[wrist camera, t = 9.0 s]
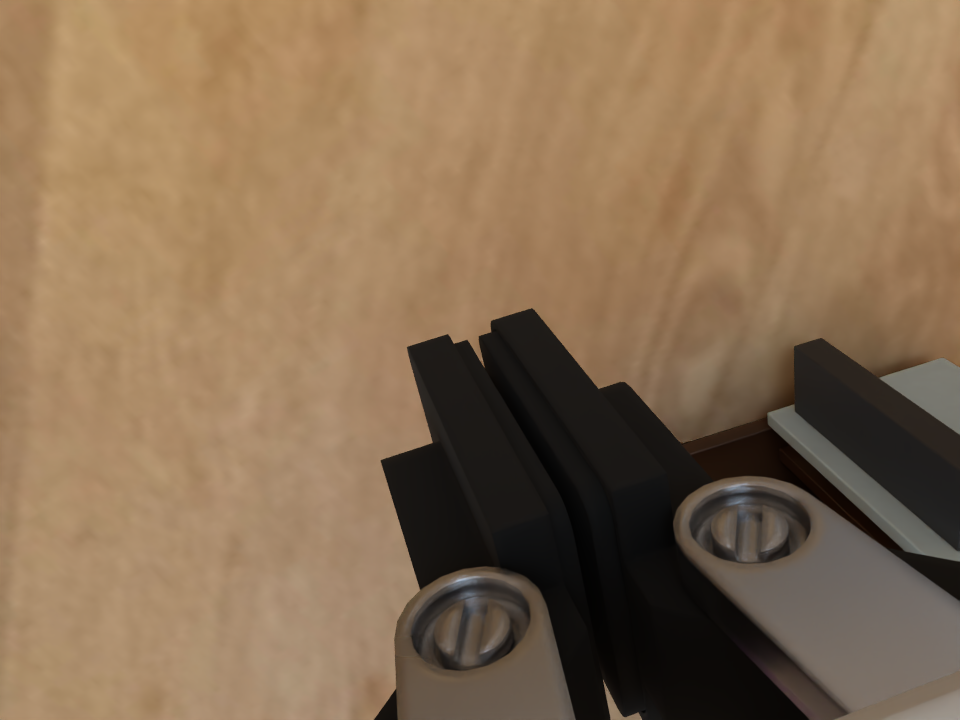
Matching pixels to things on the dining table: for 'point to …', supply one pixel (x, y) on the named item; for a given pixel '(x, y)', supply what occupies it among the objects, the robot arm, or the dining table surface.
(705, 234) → the dining table surface
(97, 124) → the dining table surface
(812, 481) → the cabinet
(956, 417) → the door
